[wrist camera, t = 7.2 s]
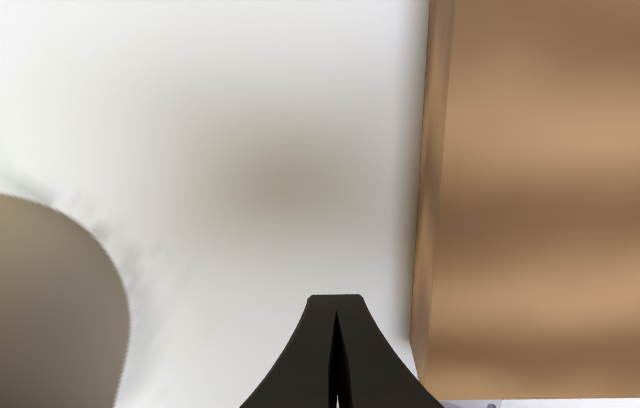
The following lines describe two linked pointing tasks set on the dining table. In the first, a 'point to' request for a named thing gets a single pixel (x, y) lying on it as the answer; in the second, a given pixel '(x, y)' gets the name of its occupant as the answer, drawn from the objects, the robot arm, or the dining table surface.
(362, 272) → the dining table surface
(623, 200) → the walnut deck
